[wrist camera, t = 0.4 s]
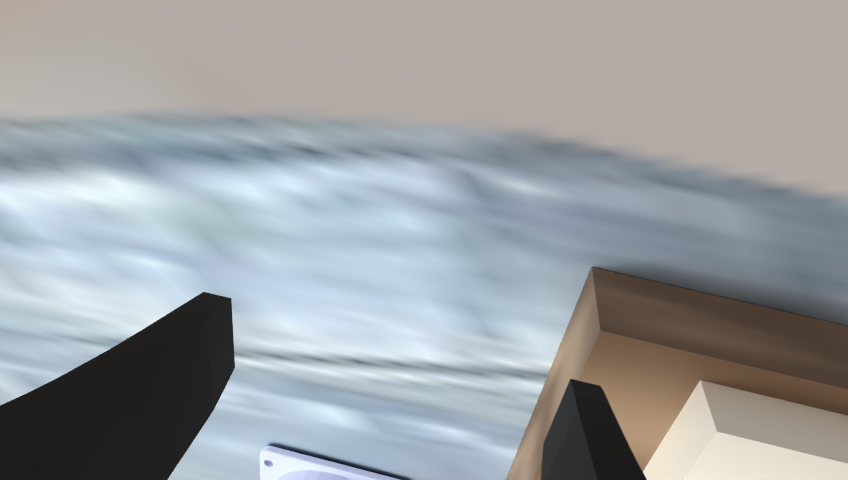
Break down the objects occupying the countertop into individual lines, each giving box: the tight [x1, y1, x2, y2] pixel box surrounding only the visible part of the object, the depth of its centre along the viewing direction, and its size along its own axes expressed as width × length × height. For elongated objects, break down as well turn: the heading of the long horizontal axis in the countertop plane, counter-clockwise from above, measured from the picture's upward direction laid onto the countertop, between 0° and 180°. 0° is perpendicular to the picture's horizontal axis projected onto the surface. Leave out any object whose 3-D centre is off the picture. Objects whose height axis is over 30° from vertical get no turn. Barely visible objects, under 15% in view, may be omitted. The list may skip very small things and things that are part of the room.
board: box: [506, 267, 848, 480], centre depth 22 cm, size 14×13×4 cm
